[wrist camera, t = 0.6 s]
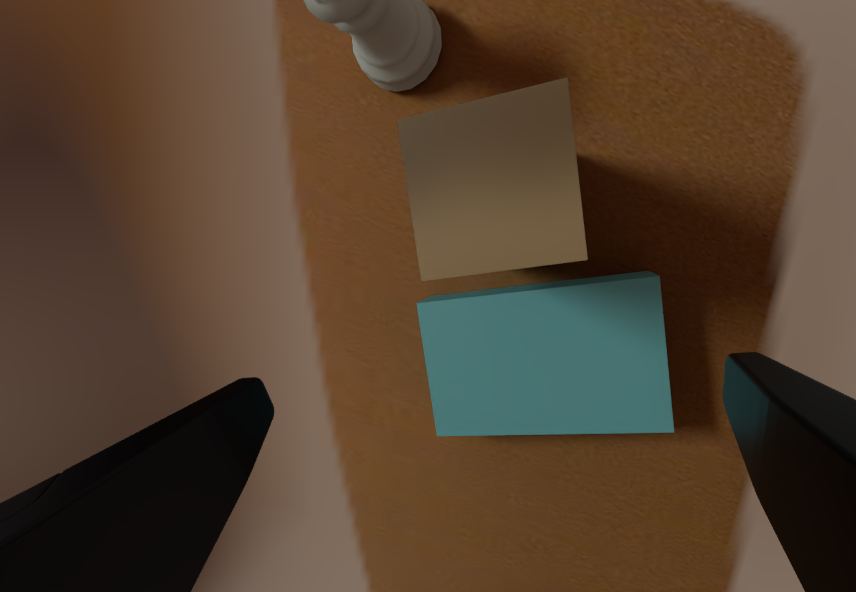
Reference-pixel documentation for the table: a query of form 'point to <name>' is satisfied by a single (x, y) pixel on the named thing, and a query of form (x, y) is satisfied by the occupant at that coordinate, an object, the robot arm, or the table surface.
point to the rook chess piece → (387, 37)
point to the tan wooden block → (495, 183)
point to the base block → (549, 358)
